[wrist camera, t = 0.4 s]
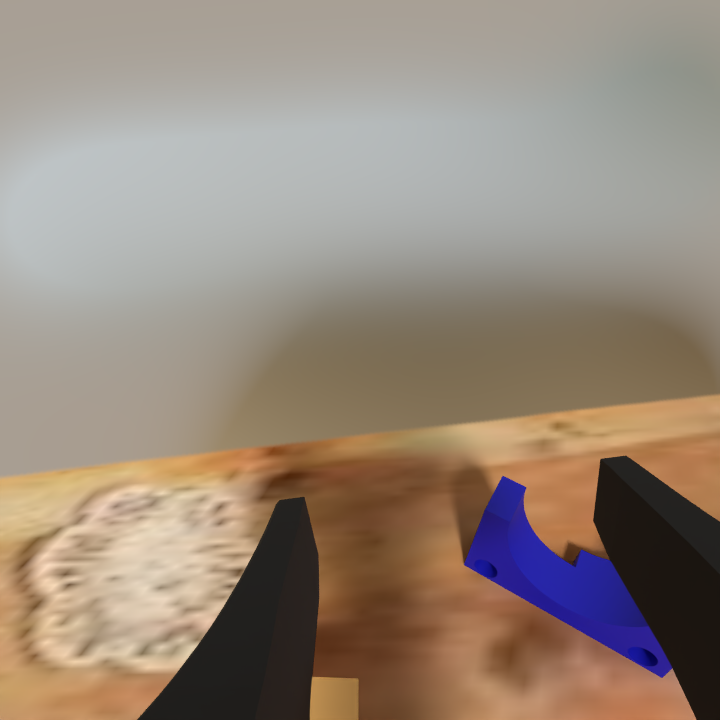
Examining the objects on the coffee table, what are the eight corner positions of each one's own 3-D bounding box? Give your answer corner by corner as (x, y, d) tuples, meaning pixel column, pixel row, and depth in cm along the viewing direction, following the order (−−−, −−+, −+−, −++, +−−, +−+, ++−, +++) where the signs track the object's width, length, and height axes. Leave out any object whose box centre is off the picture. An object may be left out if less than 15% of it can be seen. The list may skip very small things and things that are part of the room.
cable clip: (670, 613, 33) (718, 559, 29) (660, 679, 30) (713, 628, 26) (488, 517, 37) (510, 460, 34) (463, 566, 34) (485, 509, 31)
